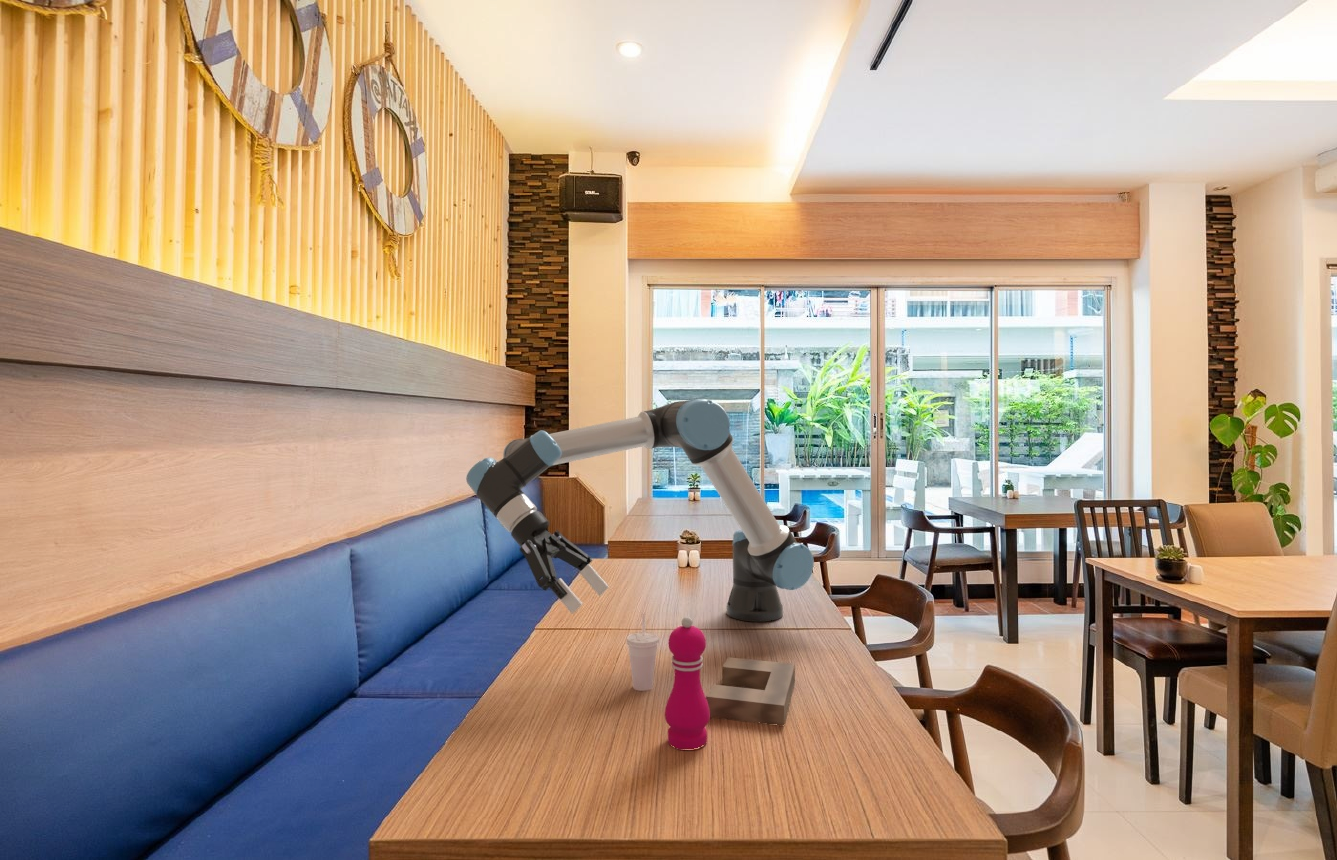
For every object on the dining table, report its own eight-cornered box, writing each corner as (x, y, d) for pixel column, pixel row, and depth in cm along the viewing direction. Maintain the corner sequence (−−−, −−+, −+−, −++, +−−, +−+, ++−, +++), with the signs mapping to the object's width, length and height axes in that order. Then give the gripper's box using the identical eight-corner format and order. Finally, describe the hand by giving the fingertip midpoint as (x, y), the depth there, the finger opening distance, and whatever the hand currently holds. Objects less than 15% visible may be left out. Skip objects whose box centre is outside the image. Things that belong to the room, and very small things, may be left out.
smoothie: (663, 683, 126) (663, 612, 126) (652, 695, 120) (652, 621, 120) (633, 679, 128) (633, 609, 128) (621, 691, 122) (620, 618, 122)
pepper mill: (695, 757, 97) (695, 626, 97) (656, 745, 101) (655, 619, 101) (717, 738, 104) (717, 614, 104) (679, 727, 107) (679, 608, 107)
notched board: (706, 716, 111) (705, 696, 111) (727, 674, 130) (727, 657, 131) (784, 726, 108) (784, 705, 108) (794, 681, 127) (794, 663, 127)
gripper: (541, 525, 144) (603, 596, 140) (478, 544, 120) (551, 630, 116) (562, 502, 143) (625, 573, 138) (503, 517, 119) (577, 603, 115)
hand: (591, 600), depth 127 cm, fingers open, 13 cm apart
